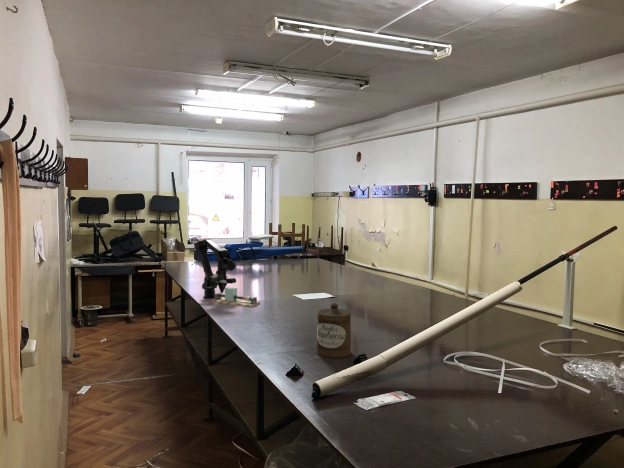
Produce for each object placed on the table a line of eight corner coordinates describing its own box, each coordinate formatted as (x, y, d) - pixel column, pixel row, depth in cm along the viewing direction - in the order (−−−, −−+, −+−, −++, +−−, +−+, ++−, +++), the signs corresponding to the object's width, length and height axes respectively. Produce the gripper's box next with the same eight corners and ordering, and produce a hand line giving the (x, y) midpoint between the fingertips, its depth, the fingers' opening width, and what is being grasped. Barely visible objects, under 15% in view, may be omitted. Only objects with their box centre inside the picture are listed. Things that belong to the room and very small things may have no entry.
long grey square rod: (215, 297, 311) (215, 293, 310) (218, 296, 313) (218, 292, 313) (253, 301, 299) (253, 298, 299) (255, 301, 301) (255, 297, 301)
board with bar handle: (211, 301, 307) (211, 294, 307) (221, 298, 317) (221, 291, 317) (251, 307, 295) (251, 299, 294) (260, 303, 305) (260, 296, 304)
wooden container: (311, 355, 206) (312, 304, 204) (323, 345, 220) (324, 298, 218) (344, 360, 201) (346, 308, 199) (354, 349, 215) (355, 301, 213)
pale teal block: (224, 300, 306) (224, 288, 306) (229, 298, 311) (229, 287, 310) (232, 301, 304) (232, 289, 303) (237, 299, 308) (237, 287, 308)
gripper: (202, 269, 305) (202, 293, 306) (226, 271, 298) (226, 296, 299) (212, 267, 315) (212, 290, 317) (236, 269, 308) (236, 293, 309)
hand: (221, 292), depth 310 cm, fingers closed
